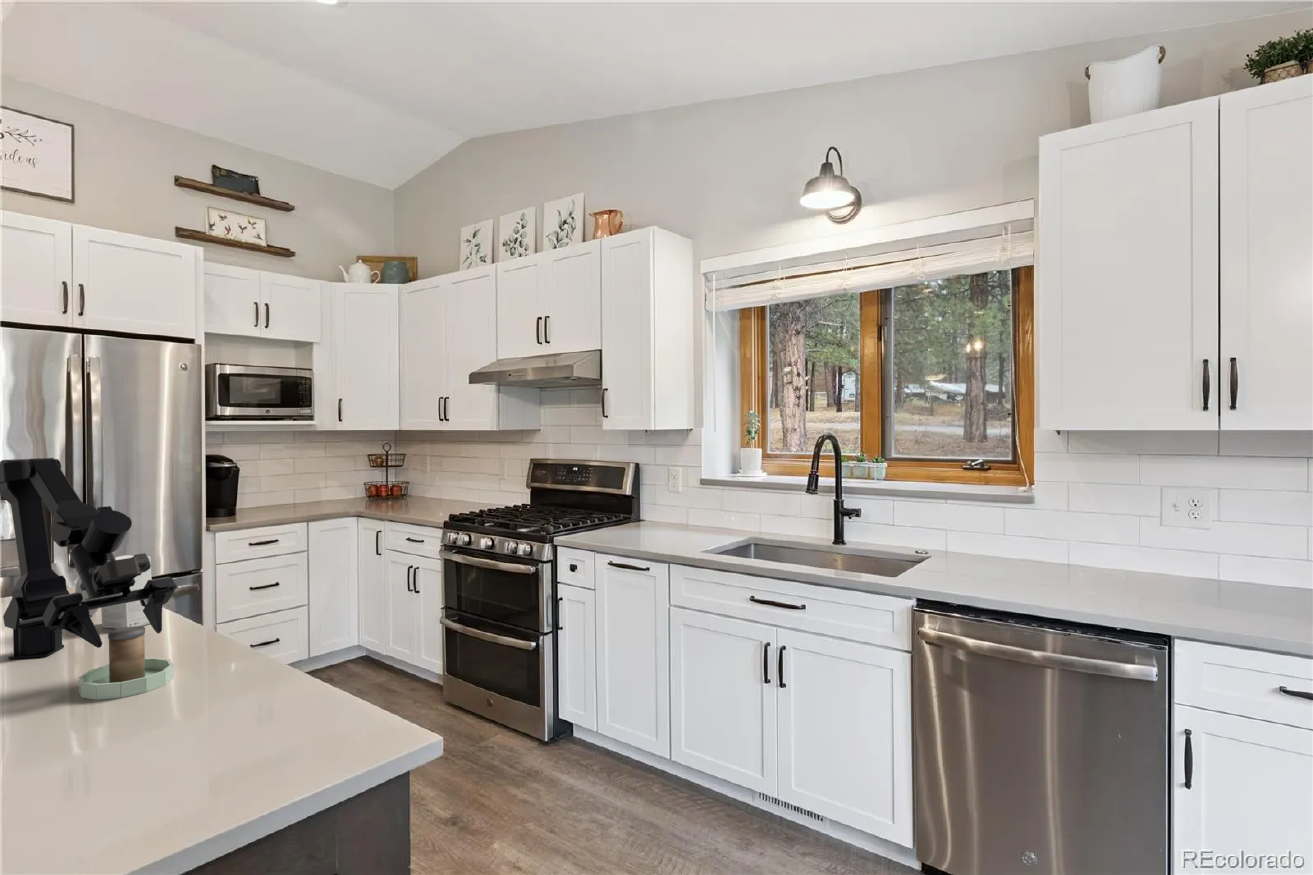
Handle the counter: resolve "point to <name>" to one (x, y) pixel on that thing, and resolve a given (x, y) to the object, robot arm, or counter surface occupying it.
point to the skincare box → (127, 606)
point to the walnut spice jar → (126, 654)
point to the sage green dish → (99, 687)
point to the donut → (84, 595)
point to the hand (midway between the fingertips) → (131, 638)
